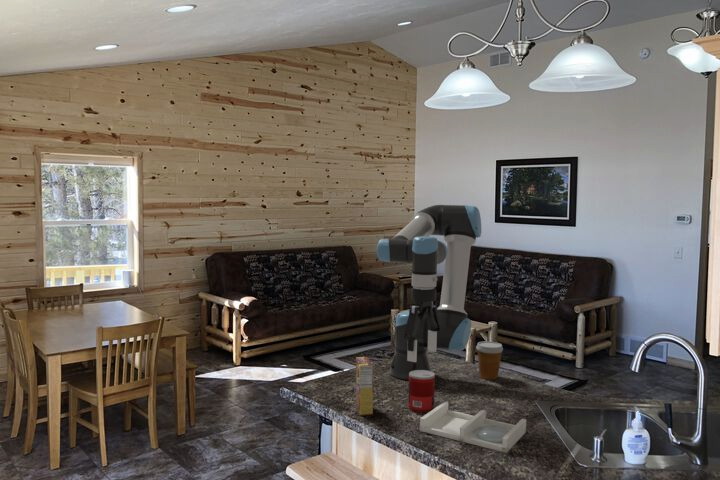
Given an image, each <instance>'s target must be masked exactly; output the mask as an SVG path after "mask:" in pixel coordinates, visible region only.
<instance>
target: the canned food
mask: <svg viewBox="0 0 720 480" xmlns="http://www.w3.org/2000/svg"><path fill="white" fill-rule="evenodd" d="M435 386H436V374H435V372H433V371H432V370H431V371H427V370H414V371H411V372H410V373H409V380H408V401H407V402H408V405H407V406H408V409H409V410H410V411H413V412H416V413H429V412H430V411H432V410H433V409H435V394H436V393H435V392H436V387H435Z"/></svg>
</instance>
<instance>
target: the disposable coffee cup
mask: <svg viewBox="0 0 720 480" xmlns="http://www.w3.org/2000/svg"><path fill="white" fill-rule="evenodd" d="M475 348H476V350H477V357H478V358H477V359H478V371H479V377H480V378H482V379H484V380H497V379H498V376H499V369H500V365H501V359H502V353H503V350H504V348H503V345H502V343H499V342H496V341H485V340H484V341H479V342H477V345H476V346H475Z"/></svg>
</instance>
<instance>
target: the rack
mask: <svg viewBox="0 0 720 480" xmlns="http://www.w3.org/2000/svg"><path fill="white" fill-rule="evenodd" d="M486 417H487V410H484V409H481V410H480V411H478V412H477V413H476V414H475V415H471V414H467V413H463V412H459V411H456V410H450V409H449V401H443V402H442V403H440V404H439V405H437V406H436V407H434V408H433V410H432V411H430V412H426V414H424V415H422V417H420V418H419V431H420V432H422V433H425V434H431V435H435V436H439V437H443V438H447V439H451V440H455V441H458V442H461V443H465V444H466V443H467V444H471V445H475V446H478V447H482V448H486V449H490V450H495V451H498V452H501V453H508V452H509V451H510V450H511V449H512V448H513V447H514V446H515V444H516V443H517V442H518V441H519V440H520V439H521V438H522V437H523V436H524V435H525V433H527V419H526V418H521V419H520V420H519V421H518V422H517V423H516V424H513V423H507V422H504V421H499V420H495V419H490V418H486ZM487 425H492V426H499V427H503V428H505V429H507V430H509V432H508V433H507V434H506V435H505V436H504V437H503V438H502V443H491V442H487V441H483V440H481V439H479V438H478V437H477V435H476V432H477V428H479V427H481V426H487Z"/></svg>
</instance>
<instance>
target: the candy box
mask: <svg viewBox="0 0 720 480" xmlns="http://www.w3.org/2000/svg"><path fill="white" fill-rule="evenodd" d="M373 367H374V365H373V364H372V362H371V360H370V358H369V357H368V356H359V357H358V356H357V357H355V390H356V391H355V394H356V395H355V397H356V398H355V399H356V400H355V401H356V402H355V403H356V407H357V409H358V412H359V413H358V414H359V415H361V416H362V415H363V416H364V415H366V416H367V415H368V416H369V415H373V412H374V411H373V410H374V409H373V408H374V407H373V405H374V402H373V401H374V398H373V397H374V396H373V395H374V391H373V390H374V389H373V386H374V384H373V383H374V376H373V375H374V373H373V372H374V370H373Z"/></svg>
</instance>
